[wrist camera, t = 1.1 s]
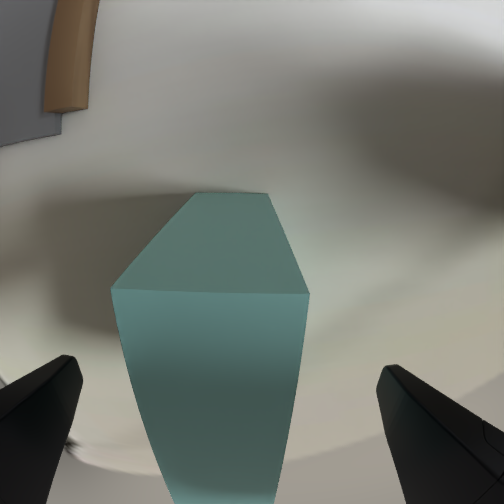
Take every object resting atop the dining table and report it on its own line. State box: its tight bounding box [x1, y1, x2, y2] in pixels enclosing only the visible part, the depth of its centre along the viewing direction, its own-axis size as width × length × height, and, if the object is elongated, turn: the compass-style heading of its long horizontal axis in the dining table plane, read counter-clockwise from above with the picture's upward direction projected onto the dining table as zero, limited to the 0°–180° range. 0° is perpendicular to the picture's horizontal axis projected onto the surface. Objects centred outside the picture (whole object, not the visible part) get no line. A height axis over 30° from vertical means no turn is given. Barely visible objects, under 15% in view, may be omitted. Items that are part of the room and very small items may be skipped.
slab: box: [110, 193, 310, 504], centre depth 10 cm, size 3×8×9 cm, turn 178°
